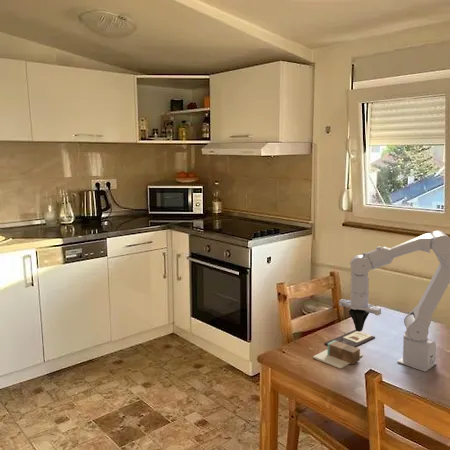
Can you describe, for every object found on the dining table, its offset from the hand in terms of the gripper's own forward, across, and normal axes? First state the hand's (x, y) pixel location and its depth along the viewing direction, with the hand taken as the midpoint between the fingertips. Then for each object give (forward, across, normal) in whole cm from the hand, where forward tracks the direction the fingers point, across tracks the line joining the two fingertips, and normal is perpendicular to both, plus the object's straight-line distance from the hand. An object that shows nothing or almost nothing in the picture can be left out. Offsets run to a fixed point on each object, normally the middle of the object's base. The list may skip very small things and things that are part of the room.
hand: (359, 330), depth 153 cm
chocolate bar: (+10, -10, +10) cm, 17 cm away
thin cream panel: (+10, -5, -4) cm, 12 cm away
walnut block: (+7, +2, -4) cm, 9 cm away
